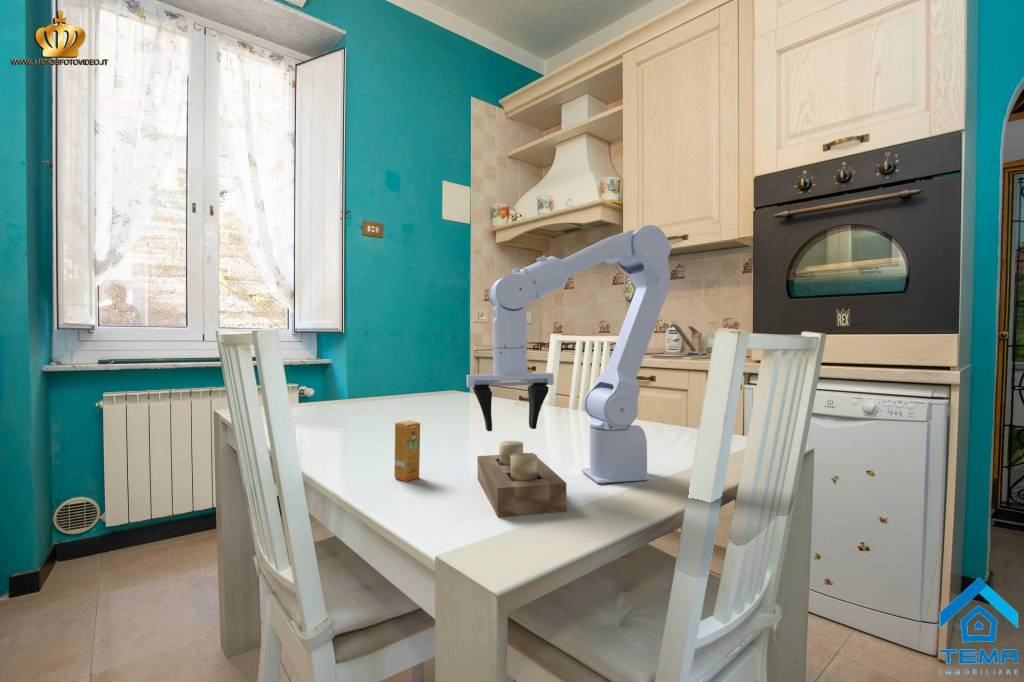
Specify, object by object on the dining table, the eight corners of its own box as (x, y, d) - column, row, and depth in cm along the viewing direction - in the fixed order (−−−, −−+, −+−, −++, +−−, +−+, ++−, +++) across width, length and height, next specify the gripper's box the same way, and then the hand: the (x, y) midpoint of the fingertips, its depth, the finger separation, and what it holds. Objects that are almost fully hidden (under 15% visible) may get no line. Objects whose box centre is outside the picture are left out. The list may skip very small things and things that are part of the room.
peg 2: (533, 477, 78) (533, 452, 77) (540, 484, 74) (540, 458, 74) (508, 479, 77) (508, 453, 77) (513, 486, 73) (513, 460, 73)
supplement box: (406, 482, 86) (405, 424, 86) (393, 478, 89) (393, 422, 88) (421, 477, 89) (420, 421, 89) (409, 474, 91) (408, 419, 91)
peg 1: (520, 462, 86) (520, 440, 86) (525, 468, 82) (525, 445, 82) (497, 464, 85) (497, 441, 85) (501, 470, 82) (501, 446, 82)
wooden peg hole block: (532, 474, 90) (532, 452, 90) (566, 510, 71) (566, 482, 71) (477, 478, 88) (477, 456, 88) (497, 517, 69) (497, 488, 69)
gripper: (470, 349, 78) (471, 435, 78) (558, 347, 81) (559, 431, 81) (464, 348, 85) (465, 427, 85) (546, 346, 88) (547, 423, 88)
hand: (510, 429), depth 84 cm, fingers open, 7 cm apart
